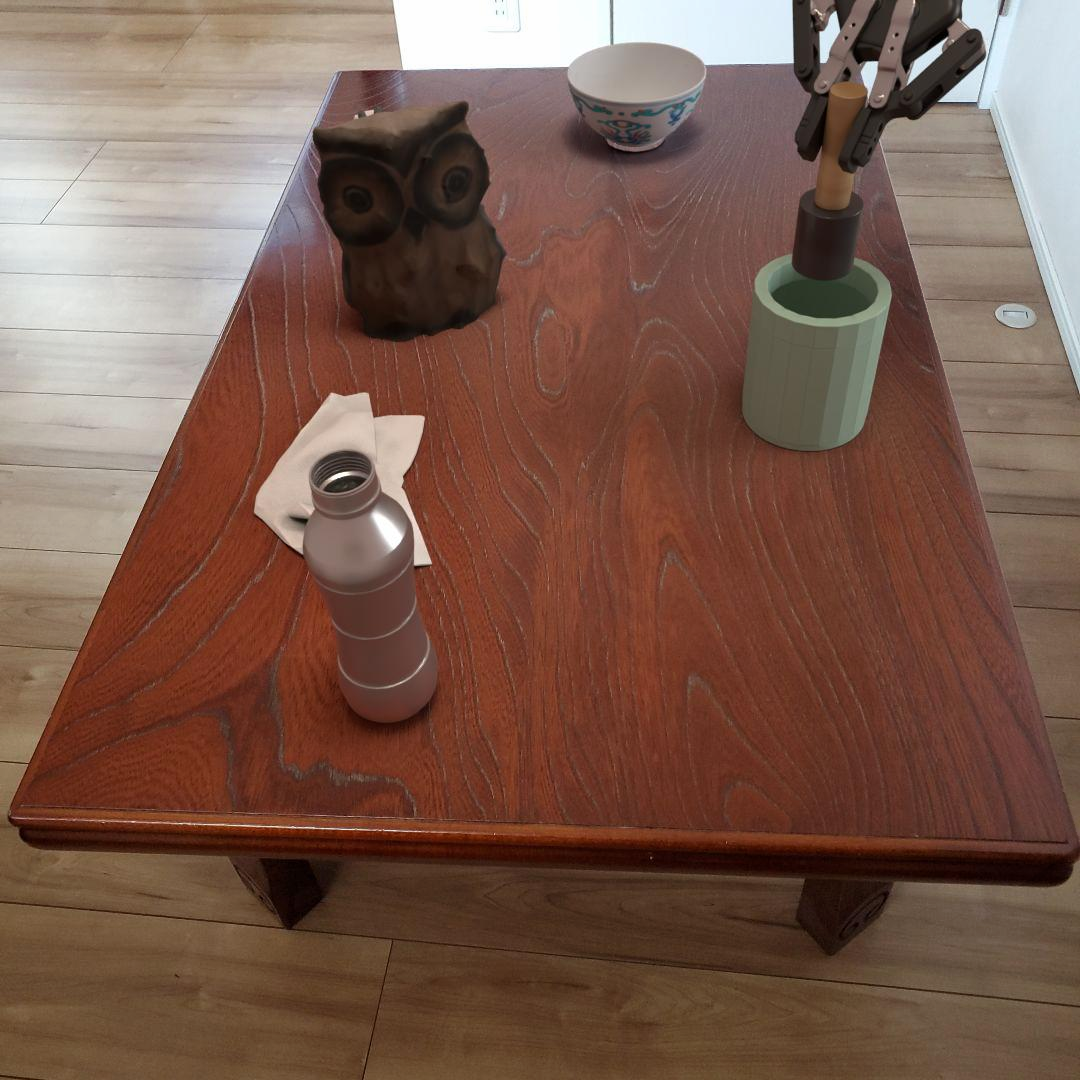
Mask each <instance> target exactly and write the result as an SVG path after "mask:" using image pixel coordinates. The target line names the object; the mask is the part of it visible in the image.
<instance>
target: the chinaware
mask: <svg viewBox="0 0 1080 1080" xmlns="http://www.w3.org/2000/svg"><path fill="white" fill-rule="evenodd" d="M706 78H707V67H706V64H705V62H704V61H703V60H702V59H701V58H700V57H699V56H698V55H697V54H695V53H693V52H692V51H689V50H687V49H684V48H683V47H682V48H681V47H679V46H677V45H676V46H675V45H671V44H667V43H660V42H649V41H648V42H647V41H635V42H622V43H621V42H620V43H614V44H608V45H604V46H600V47H597V48H594V49H592V50H588V51H587V52H585V53H582V54H581V55H580V56H578V57H577V58H575V59H574V60H573V61H572V62H571V63H570V64H569V66H568V68H567V70H566V79H567V80H566V81H567V84H568V89H569V92H570V95H571V98H572V101H573V104H574V106H575V107H576V110H577V111H578V113H579V114H580V116H581V117H582V119H583V120H584V122H585V123H586V124H587V125H588V126H589V127H590V128H591V129H592V130H594V131H595V132H596V133H597V134H599V135H600V136H602V137H604V138H605V139H606V138H607V139H608V140H610V141H611V142H613V143H616V144H618V145H622V146H625V147H626V146H628V147H647V146H650V145H653V144H656V143H658V142H660V141H661V140H662V139H663V138H664V137H665V138H666V137H668V136H669V135H671V134H672V133H674V132H675V131H676V130H678V129H679V128H680V127H681V126H682V125H683V124H684V123H685V121H687V119H688V118H689V117H690V115H691V114H692V113H693V112H694V109H695V108H696V106H697V104H698V102H699V99H700V97H701V95H702V92H703V89H704V86H705V82H706Z"/></svg>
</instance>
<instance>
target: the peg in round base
mask: <svg viewBox="0 0 1080 1080" xmlns="http://www.w3.org/2000/svg"><path fill="white" fill-rule="evenodd" d="M868 94H869V90H868V88H867V86H865V85H863V84H862V83H858V82H854V81H852V82H840V83H836V84H834V85H833V86H832V87H831V88H830V92H829V99H828V106H827V114H826V121H825V128H824V135H823V142H822V146H821V149H820V155H819V156H820V157H819V164H818V170H817V171H818V172H817V177H816V183H815V184H816V185H815V187H814V188H812V189H811V188H810V189H808V190H807V191H805V192H804V193H803V194H802V195H801V196H800V197H799V201H798V208H797V216H796V217H797V218H796V224H795V231H794V240H793V247H792V253H793V254H792V253H791V254H792V266H793V268H794V270H795V271H796V272H797V273H799V274H800V275H802V276H804V277H806V278H809V279H813V280H819V281H831V280H837V279H840V278H843V277H845V276H847V275H848V274H849V273H850V272H851V271H852V269H853V265H854V259H855V258H856V253H857V247H858V241H859V235H860V232H861V231H860V229H861V225H862V219H863V214H864V207H865V203H864V200H863V198H862V197H861V196H860V195H859V194H858V193H856V192H855V191H852V189H853V183H854V177H855V173H854V174H851V173H847V172H844V171H842V169H841V168H840V166H839V164H838V158H839V155H840V153H841V151H842V149H843V146H844V144H845V142H846V140H847V138H848V135H849V133H850V131H851V129H852V127H853V124H854V122H855V120H856V118H857V116H858V113H859V111H860V109H861V107H865V108H867V100H868Z"/></svg>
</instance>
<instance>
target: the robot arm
mask: <svg viewBox="0 0 1080 1080" xmlns="http://www.w3.org/2000/svg"><path fill="white" fill-rule="evenodd" d="M963 2H964V0H792V2H791V4H792V5H791V6H792V7H791V8H792V54H793V56H792V57H793V74H794V75H795V77H796V79H797V80H798V82H799V84H800V86H801V87H802V89H803V90H804V92H806V93H808V94H810V99H809V101H808V104H807V106H806V108H805V110H804V112H803V115H802V117H801V119H800V121H799V123H798V126H797V128H796V130H795V132H794V143H795V144H796V145H797V148H796V152H797V154H798V155H799V156H800V158H801V159H802V160H804V161H807V162H810V163H814V162H815V161H816V160H817V158H818V156H819V153H820V152H821V149H822V142H823V135H824V128H825V121H826V114H827V106H828V99H829V92H830V88H831V87H832V86H833V85H834V84H836V83H840V82H853V81H854V80H856V79H857V78H858V77H859V76H860V75H861V72H862V70H863V69H864V67H865V65H866V64H867V63H870V62H873V63H874V62H877V68H876V69H877V71H876V75H875V78H874V82H873V84H872V87H871V90H870V94H869V96H868V104H866V107H861V109H860V111H859V113H858V116H857V118H856V120H855V122H854V124H853V127H852V129H851V131H850V133H849V135H848V138H847V140H846V142H845V144H844V146H843V149H842V151H841V153H840V155H839V158H838V164H839V166H840V168H841V169H842V171H844V172H847V173H851V174H854V175H855V173H856V172H857V170H858V168H859V167H860V168H864V167H865V166H866V165H867V164H868V163H869V162H870V161H871V158H872V156H873V155H874V152H875V150H876V148H877V145H878V144H879V141H880V139H881V137H882V135H883V132H884V130H885V128H886V126H888V124H889V123H890V122H891V121H892V120H895V119H903V118H904V119H905V118H906V119H907V120H909V121H917V120H919V119H921V118H922V117H923V116H924V115H925V114H926V113H927V112H929V111H930V110H931V109H932V108H933V107H934V106H935V105H936V104H937V103H939V102H940V101H941V100H942V99H943V98H944V97H945V96H946V95H947V94H948V93H949V92H951V91H952V90H953V89H954V88H955V87H957V85H959V83H961V82H962V80H964V79H965V78H966V77H967V76H969V75H970V74H971V73H972V72H973V71H974V70H975V69H976V68H977V67H978V66H979V65H980V64H982V63H983V62H984V61H985V60H986V57H987V49H986V42H985V39H984V36H983V34H982V31H981V30H980V29H978V28H976V27H975V28H974V27H973V28H970V27H969V26H968V25H967V23H965V22H964V21H963ZM834 13H835V14H836V18H837V22H838V27H839V32H838V34H837V36H836V38H835V39H834V41H833V43H832V45H831V46H830V49H829V52H828V58H827V60H826V61H825V63H824V65H823V67H822V69H821V37H820V32H825V30H826V29H827V27H828V25H829V21H830V18H831V16H832V15H833V14H834ZM944 40H945V41H944ZM943 41H944V42H943ZM942 42H943V44H942V47H941V52H942V53H940V54H939V56H937V57H936V58H935V59H934V60H932V62H931V63H930V64H929V65H928V66H927V67H925V68H924V69H923V70H922V71H921V72H920V73H919V74H918V75H917V76H916V77H914V78H913V79H912V80H911V81H910V82H909V80H910V76H911V73H912V70H913V67H914V64H915V62H916V61H917V60H918V59H919V58H921V57H922V56H923V55H925V54H926V53H928V52H929V51H930V50H932V49H933V48H934V47H936V46H938V45H939V44H940V43H942ZM908 82H909V83H908Z"/></svg>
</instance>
